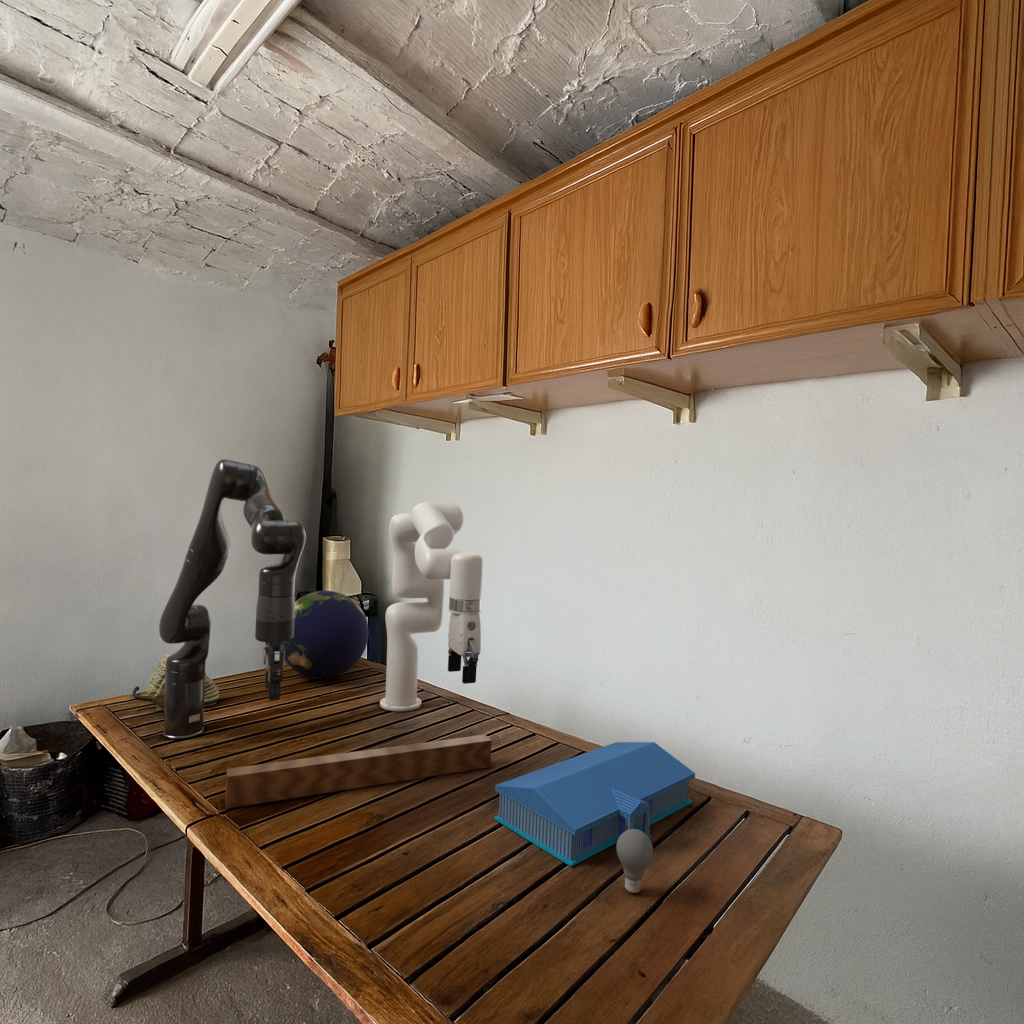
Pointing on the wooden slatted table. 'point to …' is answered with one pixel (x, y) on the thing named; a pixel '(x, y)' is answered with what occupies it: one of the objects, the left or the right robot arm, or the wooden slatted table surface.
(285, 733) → the wooden slatted table surface
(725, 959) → the wooden slatted table surface
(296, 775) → the bar
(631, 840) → the light bulb
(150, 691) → the fossil
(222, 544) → the left robot arm
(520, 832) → the model building
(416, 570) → the right robot arm
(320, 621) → the globe
